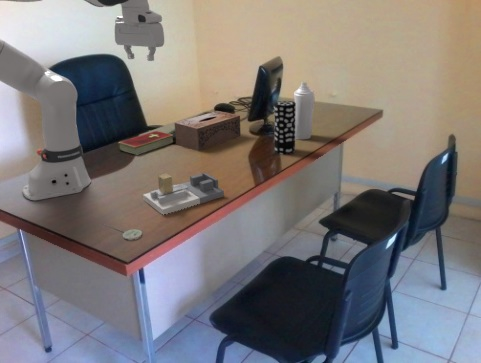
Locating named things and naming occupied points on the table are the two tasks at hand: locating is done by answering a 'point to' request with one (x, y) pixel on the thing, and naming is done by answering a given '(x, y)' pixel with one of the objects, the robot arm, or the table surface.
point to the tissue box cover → (207, 130)
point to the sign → (130, 233)
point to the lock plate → (186, 194)
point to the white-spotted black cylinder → (285, 127)
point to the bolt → (168, 186)
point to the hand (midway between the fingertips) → (140, 59)
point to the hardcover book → (145, 142)
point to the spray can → (303, 111)
